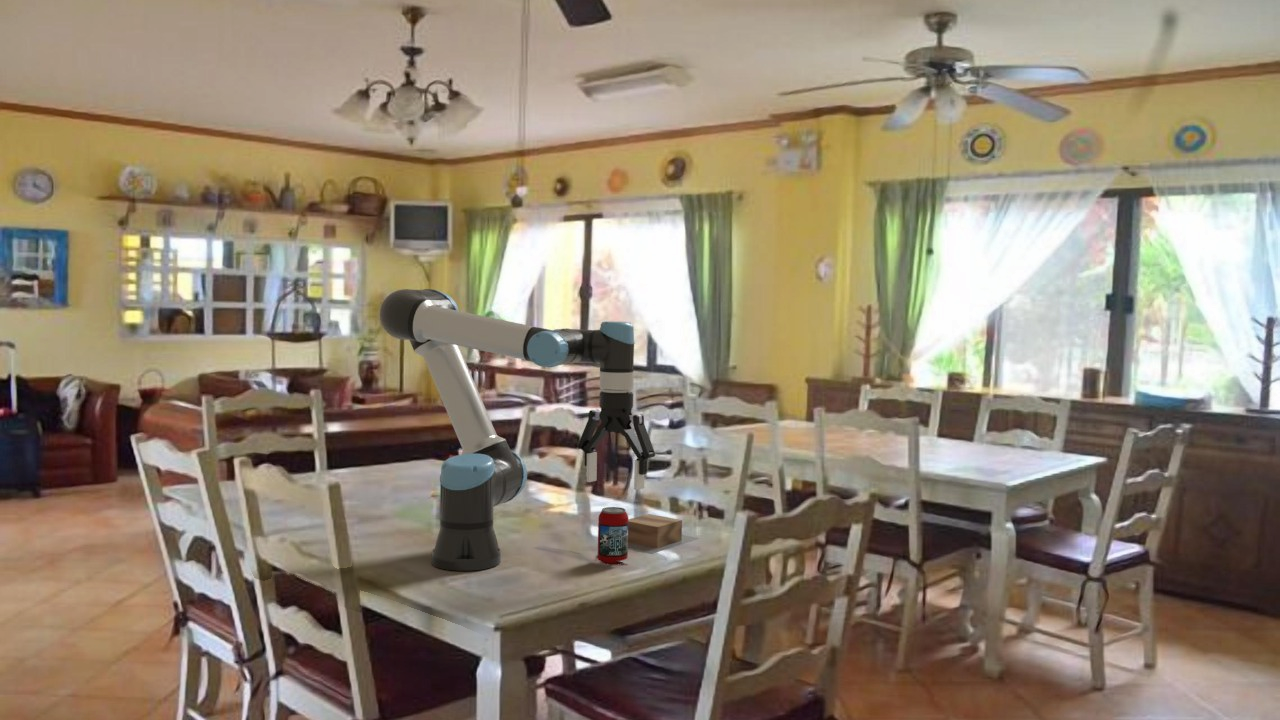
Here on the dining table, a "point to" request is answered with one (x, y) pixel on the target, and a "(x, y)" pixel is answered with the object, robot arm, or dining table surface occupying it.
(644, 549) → the flat plate
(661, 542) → the walnut block
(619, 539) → the beverage can
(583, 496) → the dining table surface
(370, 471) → the dining table surface
